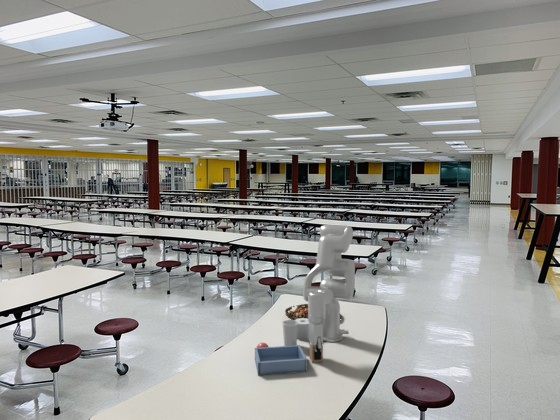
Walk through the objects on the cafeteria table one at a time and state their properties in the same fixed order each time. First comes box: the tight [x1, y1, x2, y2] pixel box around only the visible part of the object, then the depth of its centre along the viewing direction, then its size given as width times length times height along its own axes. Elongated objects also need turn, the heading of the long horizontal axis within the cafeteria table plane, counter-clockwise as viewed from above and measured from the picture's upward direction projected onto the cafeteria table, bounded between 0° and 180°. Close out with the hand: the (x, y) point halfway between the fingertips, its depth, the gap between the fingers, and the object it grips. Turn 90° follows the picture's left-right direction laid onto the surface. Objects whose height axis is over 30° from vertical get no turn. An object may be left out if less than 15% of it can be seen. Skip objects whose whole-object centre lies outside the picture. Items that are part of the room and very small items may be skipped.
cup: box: [282, 319, 298, 346], centre depth 196 cm, size 8×8×12 cm
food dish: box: [284, 303, 343, 320], centre depth 239 cm, size 35×33×8 cm
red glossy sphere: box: [256, 342, 269, 348], centre depth 185 cm, size 6×6×6 cm
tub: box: [254, 344, 308, 377], centre depth 175 cm, size 21×15×6 cm
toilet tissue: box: [295, 318, 310, 342], centre depth 207 cm, size 9×13×9 cm
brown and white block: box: [309, 341, 324, 363], centre depth 180 cm, size 5×5×9 cm
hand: (316, 356), depth 181 cm, fingers closed on brown and white block, 5 cm apart
